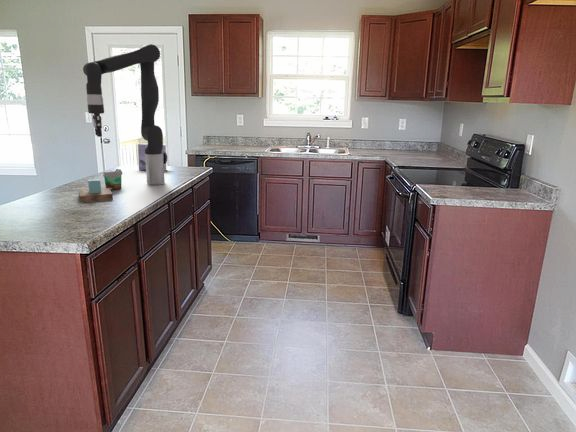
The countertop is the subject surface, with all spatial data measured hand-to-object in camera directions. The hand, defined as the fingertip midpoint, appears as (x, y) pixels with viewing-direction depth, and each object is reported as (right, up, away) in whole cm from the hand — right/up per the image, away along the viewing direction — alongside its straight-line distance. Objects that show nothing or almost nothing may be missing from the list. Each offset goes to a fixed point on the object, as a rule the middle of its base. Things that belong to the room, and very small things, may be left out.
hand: (98, 136), depth 218 cm
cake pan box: (+6, -10, +70) cm, 71 cm away
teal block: (+5, -30, -15) cm, 34 cm away
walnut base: (+5, -33, -14) cm, 36 cm away
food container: (+7, -28, +7) cm, 29 cm away
